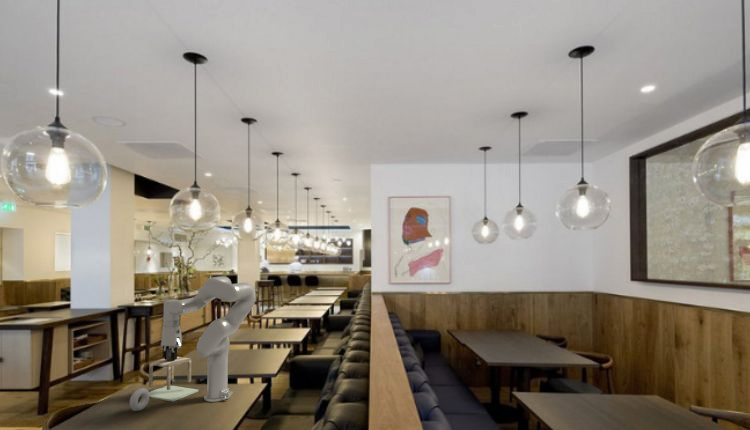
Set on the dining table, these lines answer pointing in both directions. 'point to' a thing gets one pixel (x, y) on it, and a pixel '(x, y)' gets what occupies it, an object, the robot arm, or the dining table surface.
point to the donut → (144, 401)
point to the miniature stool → (169, 367)
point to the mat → (171, 393)
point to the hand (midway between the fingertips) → (170, 358)
